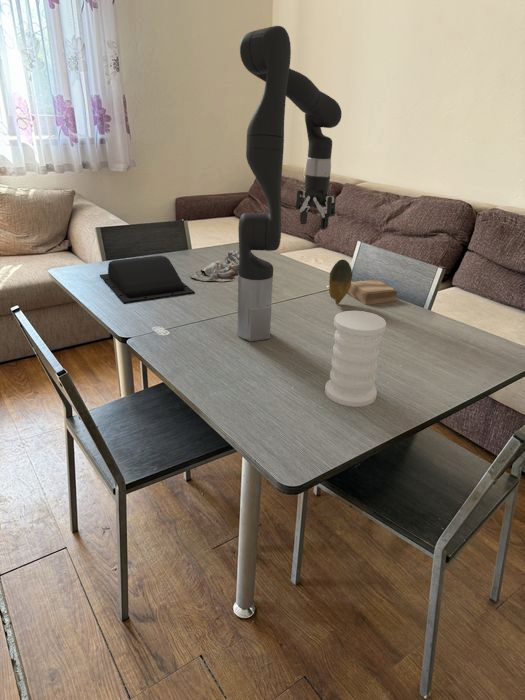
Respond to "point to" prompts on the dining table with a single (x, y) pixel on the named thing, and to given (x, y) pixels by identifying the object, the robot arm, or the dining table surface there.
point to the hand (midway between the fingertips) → (313, 226)
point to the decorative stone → (340, 280)
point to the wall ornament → (220, 269)
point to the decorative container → (355, 358)
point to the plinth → (372, 292)
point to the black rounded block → (144, 279)
